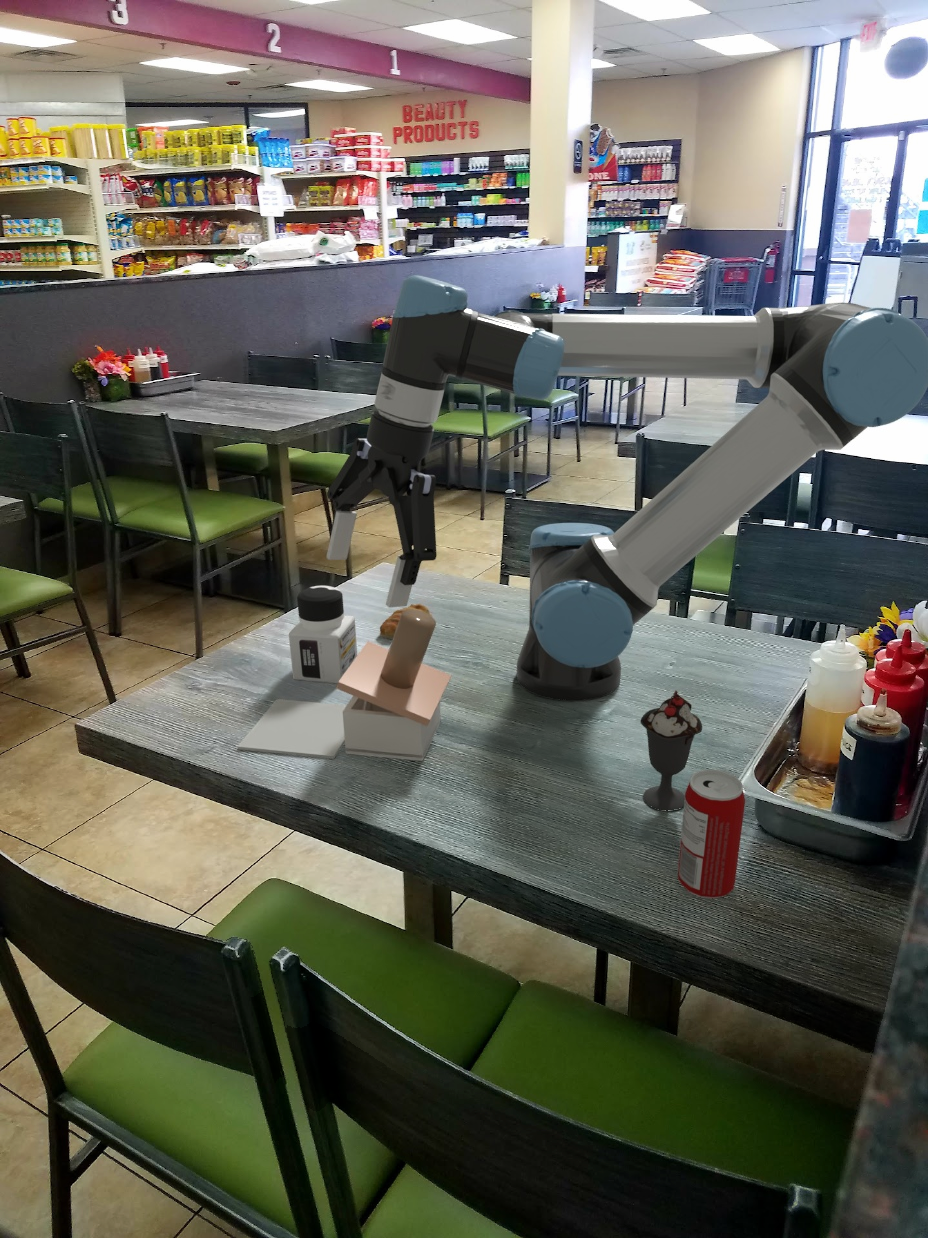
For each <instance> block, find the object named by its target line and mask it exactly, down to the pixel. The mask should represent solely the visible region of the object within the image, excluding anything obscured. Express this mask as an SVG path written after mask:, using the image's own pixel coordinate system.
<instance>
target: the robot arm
mask: <svg viewBox="0 0 928 1238" xmlns="http://www.w3.org/2000/svg"><path fill="white" fill-rule="evenodd" d="M468 297H469V296H468V292H467V290H466V289H465V288H463V287H460V286H458V285H455V284H451V283H449V282H446V281H441V280H439V279H435V278H431V277H428V276H423V275H417V274H415V275H413V274H412V275H410V276H408V277H406V278H405V279H403V281H402V283H401V287H400V291H399V295H398V298H397V300H396V304H395V308H394V312H393V313H392V319H391V324H390V329H389V333H388V334H389V335H388V338H387V342H386V343H387V344H386V347H385V353H384V358H383V362H382V367H381V374H380V378H379V382H378V387H377V389H376V390H377V391H376V395H375V400H374V406H375V408H376V410H374V411H373V412H371V414H370V415H371V416H370V419H369V425H368V428H367V434H366V438H360V437H356V438H355V439H354V441H353V444H352V448H351V451H350V453H349V455H348V457H347V459H346V460H345V462H344V463H343V465H342V467H341V468H340V469H339V472H338V473H337V474H336V476H335V478H334V480H333V481H332V483H331V484H330V487H329V488H328V490H327V492H326V495H327V496H326V497H327V499H329V500H332V502H333V508H334V514H333V519H332V523H331V534H330V540H329V544H328V549H327V553H326V556H325V557H326V559H327V560H328V561H337V560H339V561H341V560H348V559H347V558H348V556H349V551H350V547H351V541H352V537H353V532H354V528H355V524H356V520H357V516H358V515H357V514H358V513H357V512H356V511H354V510H358V505H359V504H360V503H362V502H363V500H364V499H365V498H367V497H368V496H369V495H370V494H371V493H372V492H373V491H374V490H379V491H380V492H381V493H382V494H383V495H384V496H386V497H388V502H389V504H391V505H392V506H393V510H394V515H395V520H396V525H397V530H398V535H399V540H400V544H401V550H402V554H399V555H397V558H396V562H395V565H394V569H393V574H392V578H391V581H390V586H389V589H388V593H387V597H386V601H385V606H387V607H388V608H397V607H408V603H409V599H410V597H411V596H410V595H411V592H412V589H413V588H412V587H413V585H415V584H416V582H417V578H418V574H419V571H420V567H421V565H422V562H427V561H436V559H437V539H436V538H437V537H436V518H435V499H434V498H435V497H434V495H435V489H436V484H437V477H436V476H435V475H434V474H424V473H422V472H420V463H421V461H422V460H423V459H424V458H425V457H427V456H428V454H429V453H430V449H431V444H432V440H433V436H434V432H435V428H434V426H433V425H432V424H434V423H436V422H437V421H438V418H439V413H440V410H441V405H442V402H443V397H444V392H445V388H446V386H447V379H448V377H449V376H451V377H455V378H456V379H460V380H466V381H469V382H472V383H476V384H479V385H482V386H486V387H489V388H492V389H496V390H499V391H503V392H506V393H510V394H513V395H516V397H518V398H524V397H525V398H529V399H534V400H538V401H545V400H546V399H548V398H549V397H550V396H551V394H552V393H553V390H554V387H555V385H556V382H557V379H558V376H561V377H562V376H563V377H564V376H565V377H566V376H567V377H568V376H569V377H608V378H609V377H613V378H614V377H615V378H618V377H619V378H621V377H622V378H657V379H658V378H659V379H660V378H661V379H662V378H663V379H664V378H666V379H667V378H668V379H706V380H707V379H709V380H710V379H711V380H712V379H713V380H746V381H748V382H749V384H750V385H751V386H752V387H753V388H756V389H757V388H758V389H759V388H760V389H769V391H768V394H767V396H766V397H765V398H764V399H762V400H761V401H760V402H759V403H758V404H757V405H755V407H754V408H753V409H751V410H750V411H749V412H748V413H747V414H746V415H744V417H742V418H741V419H740V420H739V421H738V422H737V423H736V424H735V425H734V426H732V427H731V428H730V429H729V430H728V431H727V432H725V434H723V435H722V436H721V437H720V438H719V439H718V440H717V441H716V442H714V443H713V444H712V445H711V446H710V447H709V448H708V449H707V450H705V452H703V453H702V454H701V455H700V456H699V457H698V458H697V459H695V460H694V462H692V463H690V465H689V466H688V467H687V468H685V469H684V470H683V471H682V472H681V473H680V474H679V475H678V476H676V477H675V478H674V479H673V480H672V481H670V482H669V483H668V485H666V486H665V487H664V488H663V489H662V490H661V491H660V492H658V493H657V494H656V495H655V496H654V497H653V498H651V500H650V501H648V503H646V504H645V505H644V506H643V507H642V508H641V509H639V511H637V512H636V513H635V514H634V515H633V516H632V517H630V518H629V519H628V521H626V522H625V523H624V524H623V525H622V526H621V527H620V528H618V529H617V530H616V531H615V532H614V531H613V529H611V528H610V527H607V526H604V525H600V524H594V523H585V522H584V523H583V522H562V523H561V522H560V523H559V522H558V523H557V522H556V523H549V524H543V525H540V526H538V527H536V528H534V529H533V530H532V532H531V535H530V544H529V546H528V550H529V553H530V555H529V609H528V610H529V618H528V619H529V621H528V622H529V626H528V630H527V633H526V636H525V639H524V640H523V644H522V646H521V649H520V651H519V652H520V653H519V655H518V657H517V660H516V661H517V662H516V679H517V682H518V683H519V684H520V686H521V687H522V688H524V689H525V690H526V691H528V692H530V693H532V694H534V695H535V696H536V695H537V696H539V697H541V698H546V699H549V700H550V699H551V700H557V701H564V702H565V701H567V702H568V701H570V702H572V701H573V702H577V701H578V702H579V701H580V702H581V701H588V700H594V699H597V698H601V697H604V696H606V695H608V694H610V693H612V692H614V691H615V690H616V689H617V688H618V687H619V686H620V683H621V674H622V673H621V672H622V665H621V661H620V657H619V656H620V655H621V654H622V653H623V652H624V651H625V650H626V648H627V646H628V645H629V642H630V640H631V637H632V635H633V631H634V629H633V628H634V626H635V624H637V623H638V622H639V621H640V620H641V619H642V618H644V617H645V616H646V615H648V614H649V612H650V611H652V610H653V609H654V608H655V607H657V605H658V595H659V590H660V587H661V586H662V585H664V583H665V582H667V581H668V580H669V579H670V578H671V577H673V575H675V574H676V573H677V572H678V571H680V569H682V568H683V567H684V566H685V565H686V564H688V563H689V562H690V561H691V560H693V559H694V558H695V557H696V556H698V554H699V553H701V552H702V551H704V549H705V548H706V547H707V546H708V545H710V544H711V543H712V542H713V541H715V540H716V539H717V538H719V537H720V536H721V534H723V533H724V532H725V531H727V530H728V529H729V528H730V527H731V526H732V525H733V524H735V523H736V522H737V521H738V520H739V519H740V518H741V517H743V516H744V515H745V514H747V512H748V511H750V510H751V509H752V508H753V507H755V506H756V505H757V504H758V503H759V502H760V501H762V500H763V499H764V498H765V497H766V496H767V495H769V493H771V492H772V491H773V490H775V489H776V488H777V487H778V486H779V485H780V484H782V482H784V481H785V480H786V479H787V478H789V476H791V475H792V474H793V473H795V471H796V470H798V469H799V468H800V467H801V466H802V465H804V464H805V463H806V462H807V461H808V460H809V459H811V458H812V457H813V456H815V454H817V453H818V452H820V451H823V450H824V451H825V450H826V451H829V450H830V451H831V450H833V451H835V450H837V451H839V450H842V449H843V448H844V447H845V446H847V445H848V444H849V443H851V442H852V440H854V439H855V438H856V437H858V436H859V435H860V434H861V433H863V432H864V431H865V430H866V429H867V428H878V427H881V426H886V425H889V424H892V423H894V422H896V421H898V420H900V419H902V418H904V417H905V416H906V415H908V414H909V413H910V412H911V411H912V410H913V409H915V407H917V405H919V403H920V401H921V400H922V399H923V397H924V395H925V393H926V391H927V390H928V337H927V335H926V333H925V332H924V330H923V329H922V328H921V326H919V325H918V324H917V323H916V322H915V321H914V320H912V319H911V318H909V317H907V316H905V315H903V314H901V313H899V312H898V311H896V310H893V309H890V308H884V307H869V306H865V305H861V304H857V303H853V302H830V303H821V304H820V303H819V304H813V305H804V306H802V305H801V306H793V307H761V309H760V310H759V311H757V312H756V313H755V314H754V315H752V316H750V315H749V316H748V315H747V316H744V315H692V314H691V315H690V314H689V315H683V314H682V315H681V314H680V315H678V314H675V315H674V314H673V315H672V314H608V313H607V314H605V313H604V314H603V313H602V314H600V313H598V314H597V313H593V314H592V313H591V314H590V313H551V314H550V313H549V314H548V313H528V312H526V313H523V312H521V311H519V310H503V311H500V312H498V313H495V314H493V315H487V314H485V313H481V312H479V311H476V310H473V309H471V308H469V307H468ZM405 494H406V495H405Z"/></svg>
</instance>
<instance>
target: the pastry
mask: <svg viewBox="0 0 928 1238" xmlns="http://www.w3.org/2000/svg"><path fill="white" fill-rule="evenodd" d="M406 609H416V610H420V611H423V612H425V613H427V614H429V615H430V616H431V617H433V615H432V614H431V613H430V610H429V608H428V607H426V605H423V604H421V603H416V604H413V603H412V604H410V605H409V606H406V607H404V608H401V609H397V610H395V611H393V613H392V614H391V615H390V616H388V618H386V619H385V620H384V621H383V622H382V624H381V625H380V626H379V635H380V637H382V638H385V639H387V640H388V639H389V640H391V641H392V640H393V637H394V634H395V631H396V628H397V625H398V622H399V619H400V617H401V614H402V612H403V611H404V610H406Z"/></svg>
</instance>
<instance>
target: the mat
mask: <svg viewBox="0 0 928 1238" xmlns="http://www.w3.org/2000/svg"><path fill="white" fill-rule="evenodd" d="M346 706H347V704H339V703H338V704H336V703H326V702H325V703H324V702H313V701H301V700H291V699H282V698H276V700H275V701H274V702H273V703H272V704H271V705H270V707H269V708H268V709H266V711H265V713H264V714H263V715H262V716H261V717H260V718H259V720H258V721H257V723H255V725H254V726H253V727H252V729H251V730H250V731H249V732H248V733H247V734H246V736H244V738H243V739H242V740H241V742H240V743H238V745H237V746H236V748H237V750H240V751H251V752H261V753H273V754H280V755H292V756H302V757H303V756H304V757H311V758H322V759H331V760H334V759H335V758H336V757H337V755H338V753H339V752H340V751H341V749H343V748H342V747H343V746H344V745H345V737H344V724H343V710H344V709H345V707H346Z"/></svg>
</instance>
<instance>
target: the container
mask: <svg viewBox="0 0 928 1238" xmlns="http://www.w3.org/2000/svg"><path fill="white" fill-rule="evenodd" d="M343 595H344V594H343V593H342V591H341V590H340V589H339V588H337V587H334V586H330V585H315V586H310V587H307V588H305V589H303V590H302V591H300V592H299V593H298V595H297V596H296V599H297V600H296V602H297V611H298V613H297V614H298V620H299V621H298V622H297V624H295V626H294V627H293V628H292V629H291V630H290V631H289V633H288V640H289V641H288V643H289V648H290V649H289V651H290V659H291V669H292V671H291V672H292V678H293V680H295V681H305V682H306V681H307V682H318V683H330V684H338V682H339V680H340V679H341V677H342V676H343V675H344V673H345V672H346V671H347V669H348V668H349V666H350V665H351V664H352V662H353V661H354V660H355V658H356V657H357V655H358V645H357V631H356V618H355V616H353V615H345V613H344V612H345V611H344V597H343Z"/></svg>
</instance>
